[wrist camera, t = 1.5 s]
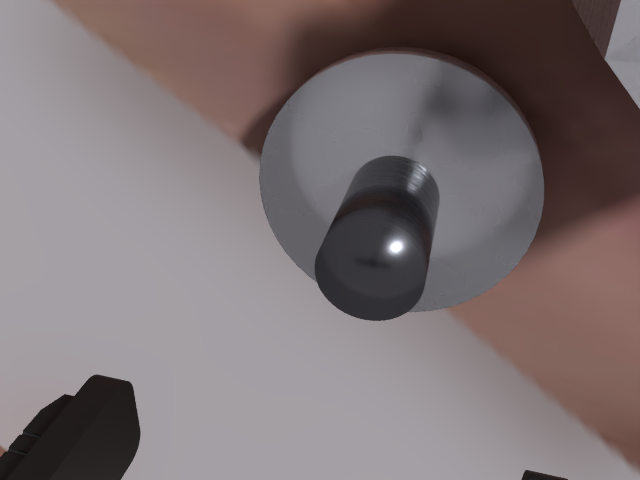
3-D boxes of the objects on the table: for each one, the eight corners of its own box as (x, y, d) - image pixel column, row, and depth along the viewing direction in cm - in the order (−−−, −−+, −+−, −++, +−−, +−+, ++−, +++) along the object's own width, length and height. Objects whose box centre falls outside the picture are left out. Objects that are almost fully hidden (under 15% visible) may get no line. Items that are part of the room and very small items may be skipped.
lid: (279, 23, 22) (192, 84, 16) (570, 50, 20) (603, 131, 14) (279, 256, 27) (214, 370, 21) (510, 295, 25) (513, 433, 19)
